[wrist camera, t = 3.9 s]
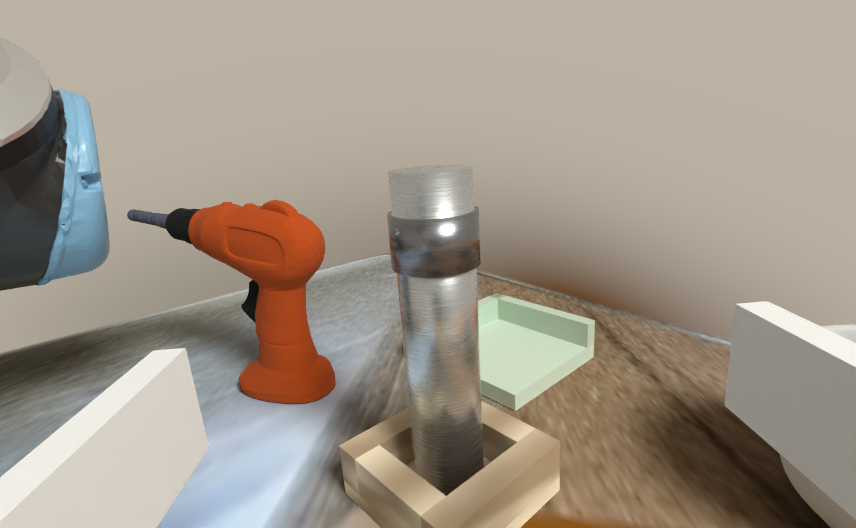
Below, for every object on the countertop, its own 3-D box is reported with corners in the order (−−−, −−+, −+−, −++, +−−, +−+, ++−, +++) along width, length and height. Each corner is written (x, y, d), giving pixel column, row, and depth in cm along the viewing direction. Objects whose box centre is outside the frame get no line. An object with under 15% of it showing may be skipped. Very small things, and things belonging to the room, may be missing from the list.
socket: (345, 493, 25) (338, 445, 24) (451, 425, 30) (449, 384, 29) (449, 595, 19) (445, 537, 18) (559, 490, 24) (560, 440, 23)
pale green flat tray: (418, 362, 38) (415, 327, 37) (497, 324, 45) (496, 293, 44) (515, 411, 31) (514, 368, 30) (593, 357, 37) (594, 320, 36)
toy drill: (175, 335, 44) (152, 174, 39) (347, 386, 37) (346, 202, 32) (125, 358, 39) (93, 182, 35) (311, 421, 33) (303, 215, 28)
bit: (396, 479, 25) (364, 173, 20) (450, 443, 27) (433, 164, 23) (449, 523, 22) (426, 176, 17) (504, 478, 24) (496, 165, 20)
